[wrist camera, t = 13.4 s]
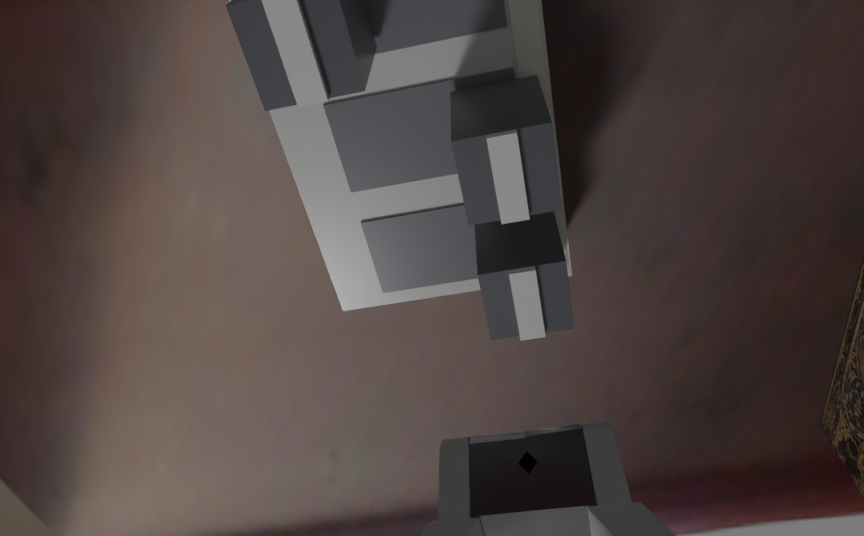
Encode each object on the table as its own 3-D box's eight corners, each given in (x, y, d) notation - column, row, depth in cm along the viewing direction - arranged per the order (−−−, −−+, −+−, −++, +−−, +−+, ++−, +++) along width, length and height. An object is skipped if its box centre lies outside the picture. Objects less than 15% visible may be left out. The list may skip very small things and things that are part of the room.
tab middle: (537, 74, 23) (553, 125, 19) (546, 154, 24) (563, 214, 21) (450, 92, 23) (451, 144, 20) (465, 168, 25) (468, 229, 21)
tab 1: (352, -49, 21) (333, -17, 17) (376, 47, 22) (364, 94, 19) (260, -28, 21) (223, 8, 18) (291, 65, 23) (263, 114, 19)
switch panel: (518, -139, 22) (527, -130, 19) (561, 237, 31) (572, 277, 28) (233, -71, 23) (206, -53, 21) (350, 271, 32) (342, 313, 29)
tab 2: (551, 200, 26) (567, 265, 22) (558, 264, 27) (575, 332, 24) (473, 214, 26) (477, 279, 23) (485, 275, 28) (491, 344, 24)
